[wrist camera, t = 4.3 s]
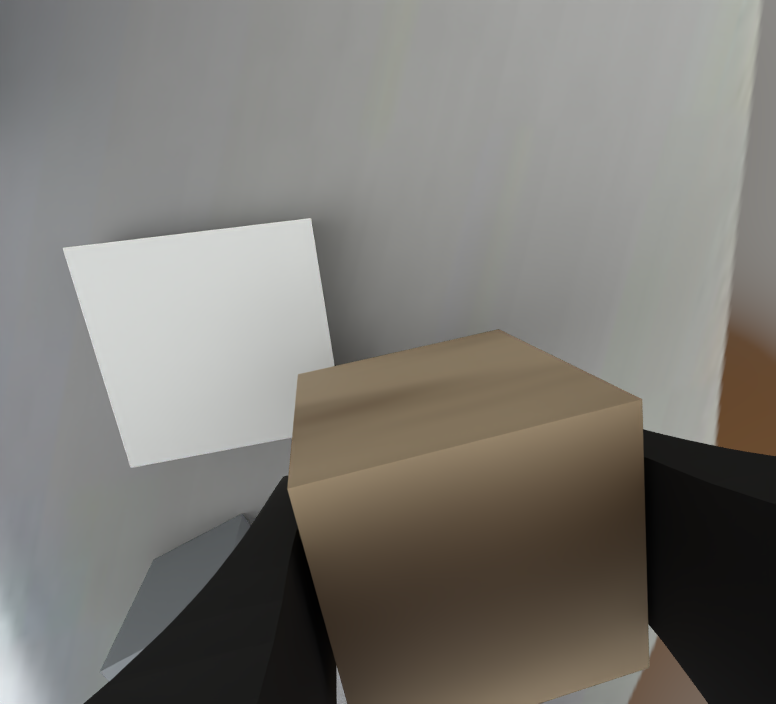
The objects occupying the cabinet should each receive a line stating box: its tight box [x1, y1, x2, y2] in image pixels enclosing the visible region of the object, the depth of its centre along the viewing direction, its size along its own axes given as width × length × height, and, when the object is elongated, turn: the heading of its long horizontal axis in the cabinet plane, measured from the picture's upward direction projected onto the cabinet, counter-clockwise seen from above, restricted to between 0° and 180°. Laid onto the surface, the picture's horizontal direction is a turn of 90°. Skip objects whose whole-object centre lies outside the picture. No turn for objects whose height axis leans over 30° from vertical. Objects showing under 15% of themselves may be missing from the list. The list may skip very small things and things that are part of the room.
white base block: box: [63, 218, 335, 468], centre depth 15 cm, size 7×7×3 cm
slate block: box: [100, 514, 250, 681], centre depth 17 cm, size 4×4×5 cm
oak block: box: [287, 329, 649, 704], centre depth 9 cm, size 5×5×5 cm
